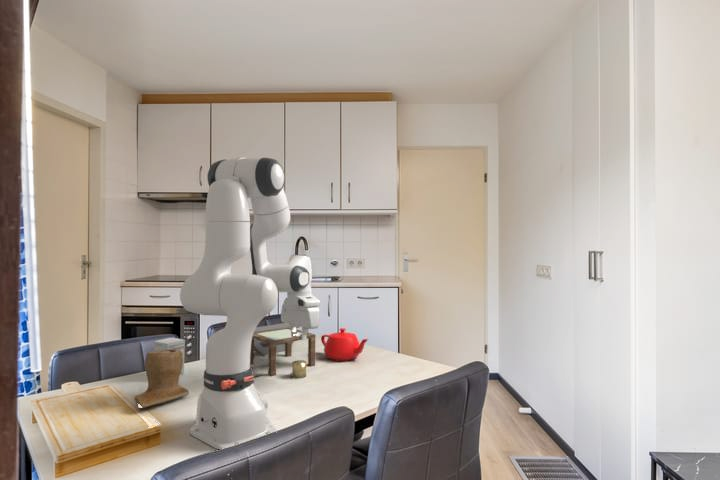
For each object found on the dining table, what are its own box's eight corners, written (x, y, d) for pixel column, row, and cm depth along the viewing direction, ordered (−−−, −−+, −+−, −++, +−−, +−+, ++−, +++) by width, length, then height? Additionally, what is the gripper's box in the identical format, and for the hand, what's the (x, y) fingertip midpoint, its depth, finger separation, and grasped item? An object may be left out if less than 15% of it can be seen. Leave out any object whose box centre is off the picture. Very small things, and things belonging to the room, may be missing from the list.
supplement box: (152, 376, 137) (153, 340, 137) (171, 370, 143) (172, 336, 144) (166, 380, 133) (167, 343, 134) (184, 373, 140) (185, 339, 140)
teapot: (309, 357, 163) (309, 328, 163) (332, 349, 176) (333, 322, 176) (357, 367, 148) (357, 336, 149) (378, 358, 161) (378, 329, 161)
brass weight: (309, 376, 138) (309, 362, 138) (297, 379, 135) (297, 365, 135) (301, 373, 142) (301, 359, 142) (289, 375, 138) (289, 362, 139)
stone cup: (175, 389, 125) (176, 342, 125) (194, 397, 117) (195, 348, 118) (123, 403, 113) (125, 352, 113) (141, 414, 106) (142, 359, 106)
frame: (315, 365, 151) (315, 334, 151) (271, 375, 138) (271, 342, 138) (289, 355, 166) (289, 327, 166) (246, 363, 153) (247, 333, 153)
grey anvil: (289, 345, 183) (290, 322, 183) (299, 348, 178) (299, 324, 178) (241, 355, 165) (241, 329, 166) (250, 358, 160) (250, 332, 160)
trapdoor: (305, 337, 152) (305, 334, 152) (274, 342, 142) (274, 339, 142) (287, 331, 162) (287, 328, 162) (256, 336, 153) (256, 333, 153)
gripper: (277, 297, 145) (276, 334, 144) (307, 302, 130) (307, 344, 129) (291, 296, 149) (290, 332, 148) (322, 301, 134) (322, 341, 133)
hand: (298, 338), depth 139 cm, fingers open, 5 cm apart
